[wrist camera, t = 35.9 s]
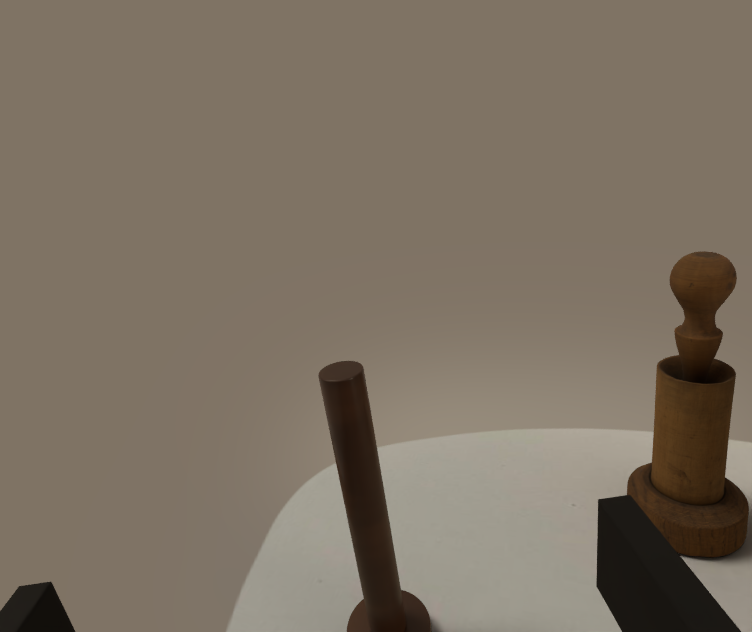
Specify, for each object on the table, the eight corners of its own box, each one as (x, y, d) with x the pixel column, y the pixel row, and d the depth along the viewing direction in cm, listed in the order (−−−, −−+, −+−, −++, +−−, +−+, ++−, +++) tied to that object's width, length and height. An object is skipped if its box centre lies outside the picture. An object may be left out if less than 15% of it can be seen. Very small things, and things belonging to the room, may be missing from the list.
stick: (346, 689, 25) (276, 401, 19) (355, 608, 29) (301, 354, 24) (435, 687, 24) (390, 390, 19) (431, 605, 29) (394, 344, 23)
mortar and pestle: (712, 485, 34) (738, 235, 28) (770, 559, 28) (818, 261, 22) (613, 487, 35) (618, 248, 30) (648, 559, 29) (663, 276, 23)
